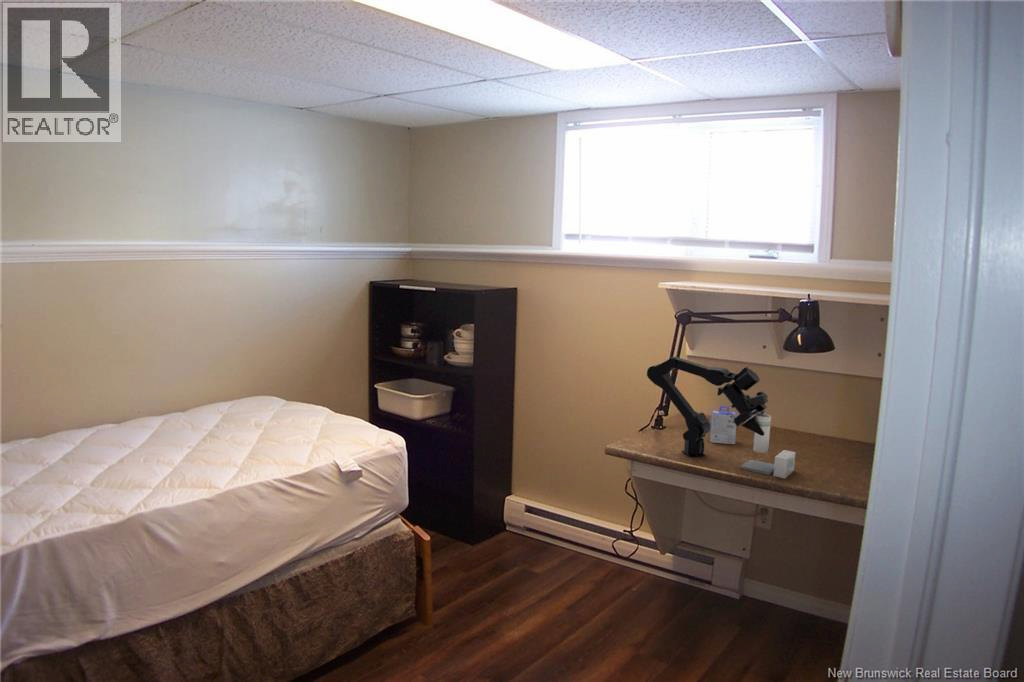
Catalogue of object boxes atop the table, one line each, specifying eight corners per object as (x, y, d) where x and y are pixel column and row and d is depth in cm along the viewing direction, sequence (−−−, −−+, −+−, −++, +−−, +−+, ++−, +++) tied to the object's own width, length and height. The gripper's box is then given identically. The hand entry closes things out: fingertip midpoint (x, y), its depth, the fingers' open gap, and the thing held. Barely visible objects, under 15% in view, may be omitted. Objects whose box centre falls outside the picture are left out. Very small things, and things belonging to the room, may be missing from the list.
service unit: (772, 475, 247) (774, 456, 245) (781, 468, 254) (783, 449, 253) (785, 478, 244) (787, 459, 243) (794, 471, 252) (795, 452, 251)
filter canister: (754, 452, 251) (757, 416, 249) (751, 448, 256) (754, 413, 254) (769, 453, 250) (772, 417, 248) (766, 449, 255) (769, 413, 253)
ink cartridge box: (734, 440, 288) (736, 406, 285) (735, 444, 282) (738, 409, 280) (709, 439, 290) (711, 404, 287) (710, 442, 284) (712, 407, 282)
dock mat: (740, 468, 253) (740, 466, 253) (750, 462, 261) (750, 459, 261) (769, 475, 247) (769, 472, 247) (778, 467, 255) (778, 465, 255)
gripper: (745, 389, 245) (775, 426, 240) (763, 381, 259) (791, 415, 254) (721, 407, 251) (750, 444, 246) (740, 398, 265) (767, 432, 260)
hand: (765, 433), depth 251 cm, fingers closed on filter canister, 5 cm apart
